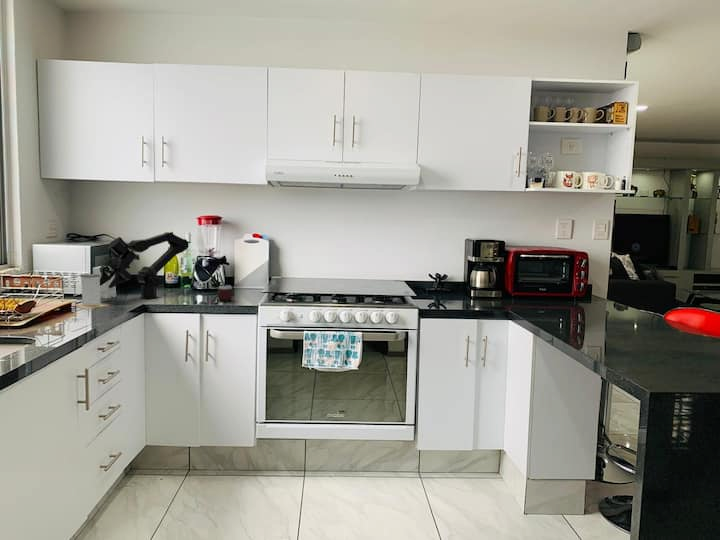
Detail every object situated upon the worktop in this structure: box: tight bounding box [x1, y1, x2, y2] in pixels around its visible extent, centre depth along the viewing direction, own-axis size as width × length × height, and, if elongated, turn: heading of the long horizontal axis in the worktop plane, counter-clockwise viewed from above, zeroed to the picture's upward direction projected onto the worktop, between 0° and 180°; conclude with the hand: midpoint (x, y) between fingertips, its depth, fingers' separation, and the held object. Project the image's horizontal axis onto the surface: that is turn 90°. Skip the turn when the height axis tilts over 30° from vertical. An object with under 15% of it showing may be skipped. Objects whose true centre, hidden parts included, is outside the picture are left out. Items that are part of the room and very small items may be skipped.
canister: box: [80, 273, 102, 306], centre depth 249 cm, size 6×6×14 cm
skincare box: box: [92, 265, 117, 299], centre depth 272 cm, size 8×7×16 cm
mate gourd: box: [214, 270, 234, 303], centre depth 267 cm, size 8×8×15 cm
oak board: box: [75, 302, 110, 310], centre depth 250 cm, size 12×12×1 cm
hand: (103, 286), depth 254 cm, fingers open, 9 cm apart
